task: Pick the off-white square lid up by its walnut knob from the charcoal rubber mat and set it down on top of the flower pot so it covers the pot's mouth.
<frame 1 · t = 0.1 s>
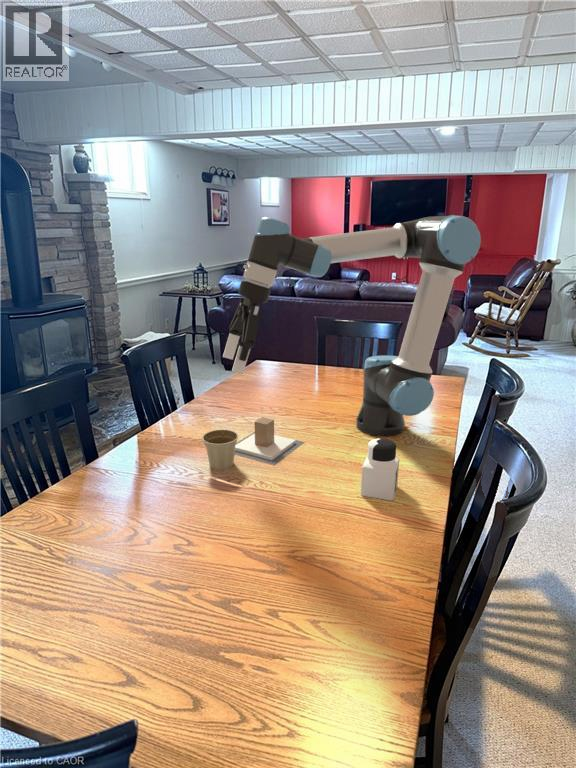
hand: (232, 365, 126), 28 cm above the table, tool tilted 20°, fingers open, 13 cm apart
container: (379, 491, 121), on the table
mat: (264, 448, 144), on the table
lid: (264, 446, 143), point 1 cm above the table, touching mat
flower pot: (221, 466, 133), on the table
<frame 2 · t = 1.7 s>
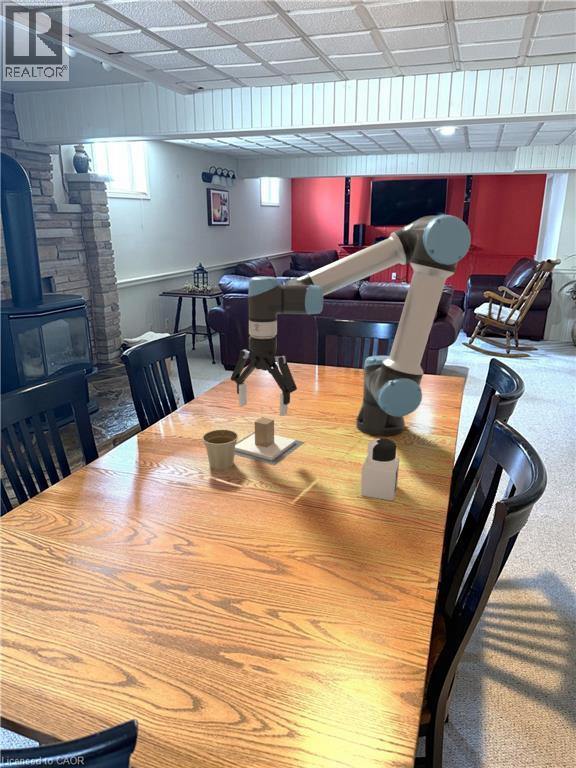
hand: (262, 410, 140), 12 cm above the table, tool pointing down, fingers open, 13 cm apart
nothing on the table moved.
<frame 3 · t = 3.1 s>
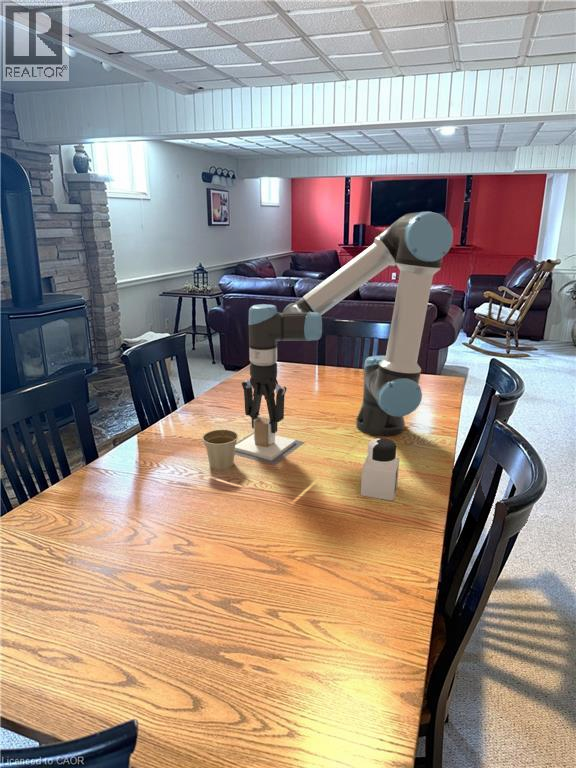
hand: (264, 440, 143), 2 cm above the table, tool pointing down, fingers closed on lid, 4 cm apart
lid: (264, 446, 143), point 1 cm above the table, touching gripper, mat
everything else where it was.
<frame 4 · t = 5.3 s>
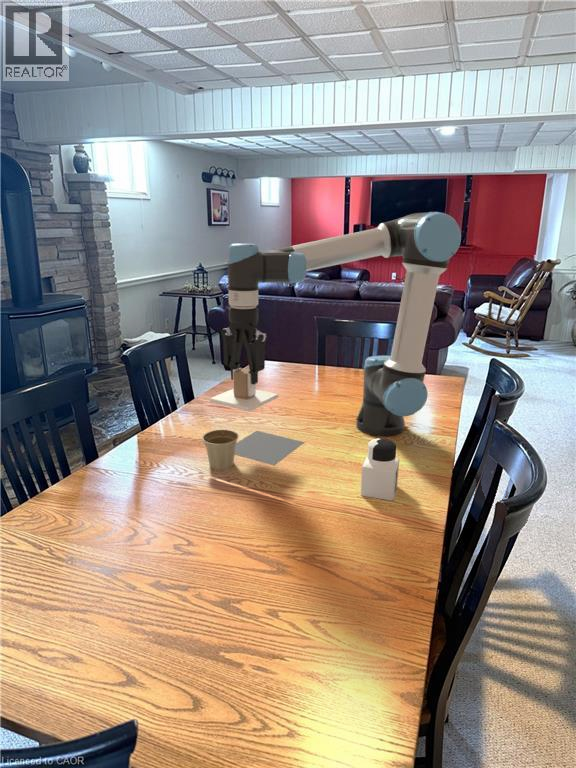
hand: (244, 393, 134), 18 cm above the table, tool pointing down, fingers closed on lid, 4 cm apart
lid: (244, 399, 134), point 16 cm above the table, touching gripper
everything else where it was.
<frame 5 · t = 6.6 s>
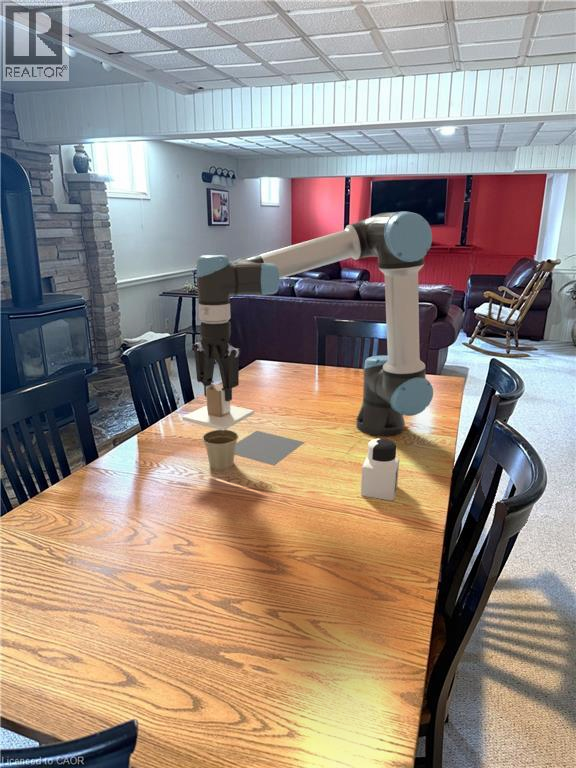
hand: (218, 410, 128), 16 cm above the table, tool pointing down, fingers closed on lid, 4 cm apart
lid: (219, 417, 129), point 14 cm above the table, touching gripper
everything else where it was.
when the fingers open (12 cm above the table, at t = 7.5 s): lid drops 2 cm, resting on flower pot.
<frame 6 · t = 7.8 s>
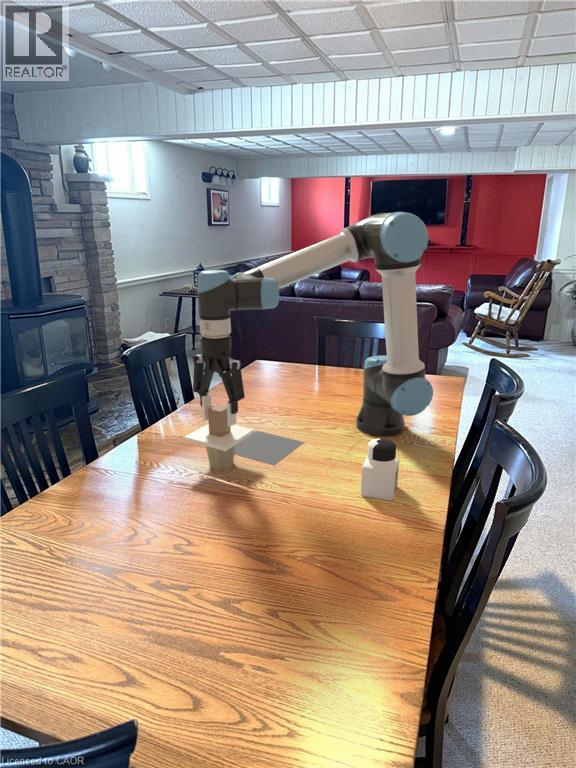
hand: (219, 421, 129), 13 cm above the table, tool pointing down, fingers open, 7 cm apart
lid: (220, 436, 131), point 9 cm above the table, touching flower pot
flower pot: (221, 466, 133), on the table, touching lid
everything else where it was.
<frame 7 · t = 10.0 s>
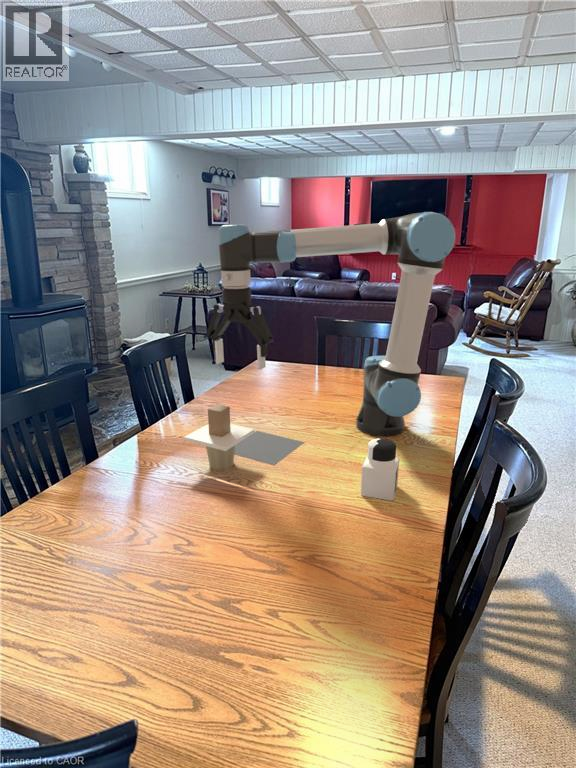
hand: (240, 365, 136), 25 cm above the table, tool pointing down, fingers open, 13 cm apart
nothing on the table moved.
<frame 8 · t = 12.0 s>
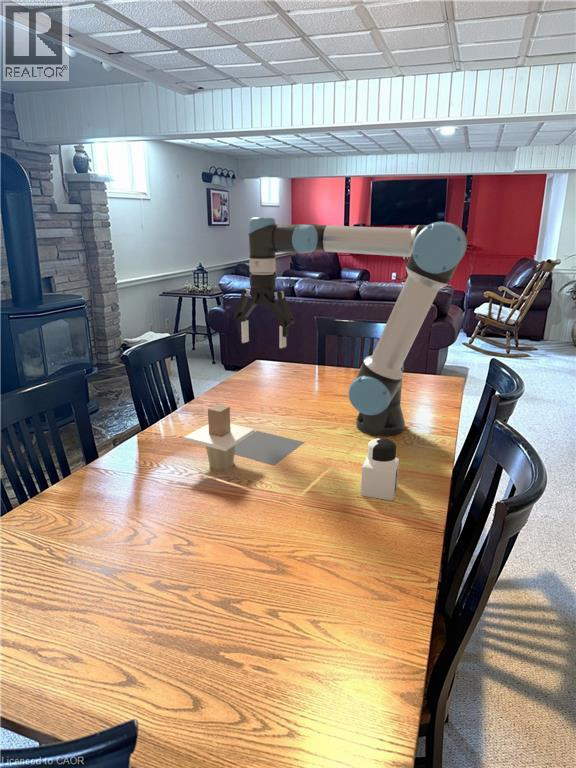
hand: (263, 344, 151), 27 cm above the table, tool pointing down, fingers open, 13 cm apart
nothing on the table moved.
at the end: lid 0.1 cm off-centre on the flower pot, point 8.8 cm above the flower pot's base; lid tilted 0°; flower pot tilted 0° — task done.
